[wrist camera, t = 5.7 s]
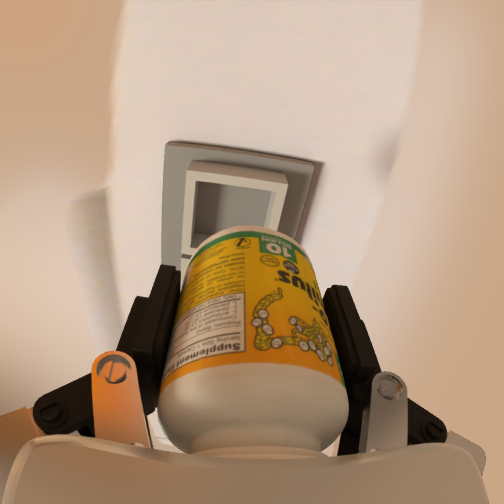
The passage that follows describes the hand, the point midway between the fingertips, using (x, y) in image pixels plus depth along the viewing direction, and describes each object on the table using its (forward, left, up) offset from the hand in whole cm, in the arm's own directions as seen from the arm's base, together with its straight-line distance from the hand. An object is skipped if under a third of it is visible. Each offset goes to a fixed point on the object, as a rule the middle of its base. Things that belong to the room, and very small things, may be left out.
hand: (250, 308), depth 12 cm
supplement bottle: (0, 0, -2) cm, 2 cm away
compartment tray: (+9, -1, -18) cm, 20 cm away
